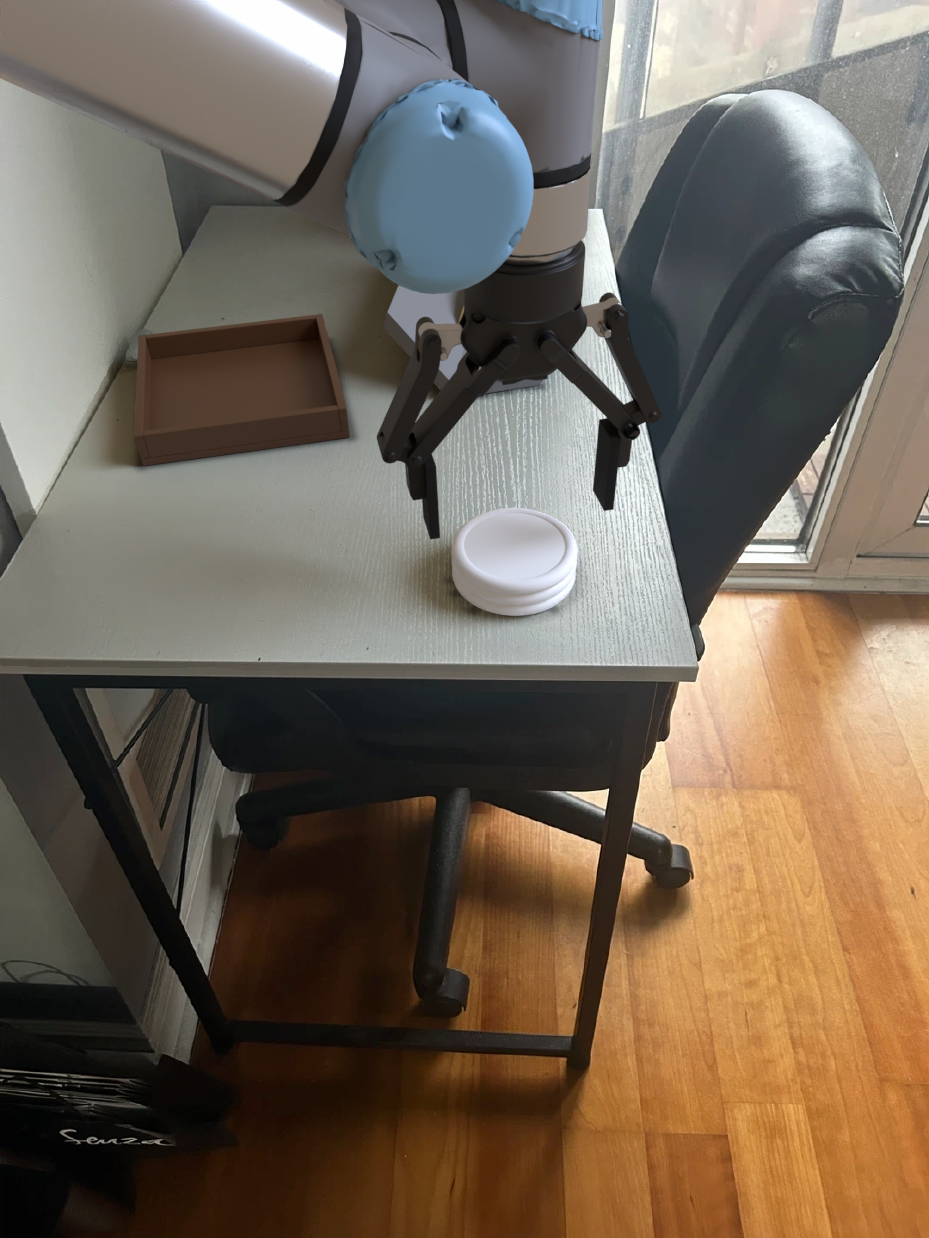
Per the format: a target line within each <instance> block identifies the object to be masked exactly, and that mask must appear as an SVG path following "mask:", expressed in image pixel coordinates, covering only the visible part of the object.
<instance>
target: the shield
mask: <svg viewBox="0 0 929 1238" xmlns="http://www.w3.org/2000/svg"><path fill="white" fill-rule="evenodd" d="M393 295H394V296H393V298H392V300H391V303H390V305H389V308H388V309H387V311H386V314H385V315H386V316H385V319H384V323H383V326H382V327H383V329H384V330H385V331H386V332H387V334H389V336H391V337H392V338H393V340H394V341H395V342H396V343H397V344H398V345H399V346H400V348H402V350H403V351H404V352H405V353H406V354H407V355H408V356H409V358H411V357H412V354H413V352H414V350H415V334H416V324H417V321H418V320H419V319H420V318H422V317H429V318H431V319H432V320H433V322H434V324H458V323H459V321H460V319H461V317H462V315H463V312H464V289H462V290H459V291H456V292H451V293H443V294H427V293H420V292H416V291H412V290H409V289H407V288H404V287H402V286H399V285H397V288H396V291H395V293H394V294H393ZM466 352H467V351H466V350H465V349H464V348H463V346H462V344H459V345H456V346H454V347H453V348H452V349H451V351H450V354H449V356H448V358H447V360H445V361H441V360H440V366H439V370H438V374H437V376H436V379H435V381H434V383H433V385H435V386H436V387H437V388H438V390H439V391H441V390H442V388H443V387H444V386H445V384H446V383H447V382H448V381H449V379H450V378H451V377H452V376H453V374H454V373H455V372H456V370H457V366H458V363H459V361H460V360H461V358H462V357H463V356H464V355H465V353H466ZM480 369H481V367H479V370H480ZM542 382H543V380H537V381H536V380H522V381H520V382H517V383H515V384H509V385H503V384H502V382H498V381H496V382H495V383H494V384H493V385H492V387H491V388H490V389H489V390H488V391H487V393H486V394H493V393H498V392H504V391H509V390H516V389H523V388H531V387H535V386H537V387H538V386H541V384H542Z"/></svg>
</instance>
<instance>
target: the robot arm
mask: <svg viewBox="0 0 929 1238" xmlns="http://www.w3.org/2000/svg"><path fill="white" fill-rule="evenodd" d="M602 27H603V0H0V79H1V80H3V81H5V82H7V83H9V84H11V85H15V86H16V87H18V88H21V89H22V90H25V91H28V92H29V93H32V94H34V95H37V96H38V97H41V98H43V99H45V100H47V101H50V102H52V103H54V104H57V105H59V106H61V107H63V108H66V109H68V110H70V111H72V112H73V113H77V114H79V115H81V116H83V117H85V118H88V119H89V120H92V121H94V122H97V123H98V124H101V125H103V126H105V127H108V128H110V129H112V130H115V131H116V132H119V133H121V134H124V135H126V136H127V137H130V138H132V139H135V140H137V141H140V142H141V143H143V144H146V145H148V146H150V147H153V148H155V149H157V150H159V151H161V152H163V153H166V154H168V155H170V156H172V157H174V158H177V159H179V160H181V161H183V162H186V163H188V164H190V165H192V166H194V167H197V168H199V169H202V170H204V171H206V172H208V173H210V174H213V175H215V176H217V177H219V178H221V179H223V180H226V181H228V182H231V183H233V184H234V185H238V186H239V187H241V188H244V189H246V190H249V191H250V192H253V193H255V194H258V195H259V196H262V197H264V198H266V199H269V200H271V201H273V202H275V203H277V204H279V205H282V206H284V207H285V208H287V209H289V210H291V211H292V212H295V213H297V214H299V215H301V216H303V217H306V218H308V219H310V220H312V221H315V222H317V223H318V224H321V225H323V226H325V227H327V228H330V229H332V230H334V231H336V232H339V233H341V234H343V235H345V236H347V237H349V238H350V239H351V241H352V243H353V245H354V247H355V249H356V250H357V251H358V252H359V254H360V255H361V256H362V257H363V258H365V259H366V260H367V261H368V262H369V264H370V265H372V266H373V267H375V268H377V269H378V270H379V271H380V272H381V273H382V274H383V276H385V277H386V279H388V280H390V281H391V282H392V283H395V284H396V285H397V286H402V287H404V288H407V289H409V290H412V291H416V292H420V293H427V294H443V293H451V292H456V291H459V290H462V289H464V312H463V315H462V317H461V319H460V321H459V323H458V324H434V322H433V320H432V319H431V318H429V317H422V318H420V319H419V320H418V321H417V324H416V334H415V350H414V352H413V354H412V357H410V358H409V362H408V364H407V366H406V368H405V370H404V372H403V375H402V376H401V379H400V382H399V384H398V387H397V388H396V391H395V393H394V395H393V397H392V400H391V402H390V404H389V407H388V409H387V411H386V413H385V416H384V418H383V421H382V423H381V424H380V428H379V429H378V431H377V434H376V441H377V445H378V449H379V452H380V455H381V458H382V461H383V462H384V463H386V464H389V465H390V464H391V465H392V464H395V463H396V462H401V463H403V464H404V468H405V469H404V470H405V479H406V480H405V481H406V487H407V489H408V493H409V496H410V498H411V499H412V501H420V500H421V504H422V517H423V521H424V525H425V527H426V531H427V534H428V536H429V540H436V539H440V538H441V529H440V510H439V509H440V508H439V493H438V473H437V464H436V462H435V459H434V456H433V453H434V452H435V450H436V449H437V448H438V447H439V445H441V443H442V442H443V441H444V440H445V439H446V437H447V436H448V435H449V433H450V432H451V431H452V429H453V428H455V426H456V424H457V423H458V422H459V421H460V420H461V419H462V418H463V416H464V415H465V414H466V413H467V411H468V410H469V409H470V408H471V406H472V405H473V404H474V403H475V401H476V400H477V399H478V398H482V397H484V396H485V395H486V394H488V393H487V391H488V390H489V389H490V388H491V387H492V385H493V384H494V383H495V382H496V381H498V382H502V384H503V385H509V384H515V383H517V382H520V381H522V380H536V381H537V380H542V381H543V380H548V376H550V375H552V374H553V373H555V371H557V370H558V371H559V372H560V373H561V374H562V375H563V376H564V377H565V378H566V379H567V380H568V381H569V382H570V383H571V384H573V385H574V386H575V387H576V388H577V389H578V390H579V391H580V392H581V393H582V394H583V395H584V397H586V398H587V399H588V400H589V401H590V402H591V403H592V404H593V405H594V407H596V408H597V410H599V411H600V412H601V413H602V414H603V415H604V416H605V417H604V418H599V419H598V430H597V439H596V451H595V461H594V462H595V463H594V474H593V483H592V484H593V486H592V491H593V493H594V495H595V497H596V499H597V501H598V503H599V505H600V506H601V508H602V510H603V511H604V512H606V511H612V510H614V508H615V506H614V505H615V498H616V488H617V479H618V472H619V468H626V467H627V466H628V464H629V462H630V460H631V453H632V452H631V451H632V445H633V444H632V443H633V441H635V440H636V439H638V438H639V436H640V435H641V429H640V427H639V426H641V425H643V424H645V423H647V424H654V423H657V422H658V421H659V420H660V419H661V418H662V411H661V408H660V407H659V404H658V402H657V399H656V397H655V395H654V393H653V390H652V388H651V387H650V384H649V382H648V379H647V377H646V374H645V372H644V370H643V368H642V365H641V363H640V360H639V359H638V356H637V354H636V352H635V350H634V347H633V345H632V343H631V339H630V334H629V331H630V330H629V328H630V326H629V325H630V323H629V312H628V310H627V309H626V308H625V307H624V305H623V304H622V302H621V301H620V300H619V298H618V297H617V296H616V295H615V294H614V293H613V292H605V293H603V294H602V295H601V296H600V298H599V301H598V302H596V303H593V304H588V305H584V306H583V304H582V299H583V292H584V278H585V277H584V276H585V264H586V244H585V243H584V241H583V239H585V238H586V236H587V232H588V223H589V201H590V186H591V185H590V183H591V164H592V163H591V162H592V144H593V133H594V132H593V129H594V119H595V118H594V115H595V104H596V93H597V92H596V90H597V78H598V68H599V56H600V47H601V46H600V44H601V41H602V40H603V37H604V30H603V28H602ZM588 327H590V328H592V330H593V331H594V332H595V334H596V335H597V337H599V338H603V339H604V341H605V343H606V345H607V347H608V350H609V352H610V354H611V356H612V358H613V360H614V362H615V364H616V367H617V369H618V371H619V373H620V376H621V379H623V382H624V384H625V386H626V388H627V390H628V393H629V395H630V397H631V399H632V400H630V401H628V402H626V403H623V402H622V401H621V400H620V399H619V398H618V397H617V396H616V394H615V393H613V391H612V390H611V389H610V388H609V387H608V386H607V385H606V383H604V382H603V381H602V379H600V377H598V376H597V374H596V373H595V372H594V371H593V370H592V369H591V368H590V367H589V366H588V365H587V364H586V363H585V361H584V360H583V359H582V358H581V357H580V356H578V354H577V353H576V352H575V350H574V347H575V346H576V344H578V342H579V340H580V339H581V338H582V337H583V335H584V334H585V332H586V330H587V328H588ZM459 344H462V346H463V348H464V349H465V350H466V351H467V352H466V353H465V355H464V356H463V357H462V358H461V360H460V361H459V363H458V366H457V370H456V372H455V373H454V374H453V376H452V377H451V378H450V379H449V381H448V382H447V383H446V384H445V386H444V387H443V388H442V390H439V392H438V393H437V395H436V396H435V397H434V398H433V400H432V401H431V402H430V404H429V405H428V406H427V408H425V410H424V411H423V412H422V414H421V415H420V413H421V411H422V409H423V407H424V405H425V403H426V400H427V398H428V396H429V395H430V392H431V389H432V388H433V385H434V381H435V379H436V376H437V374H438V370H439V366H440V360H441V361H445V360H447V358H448V356H449V354H450V351H451V349H452V348H453V347H454V346H456V345H459ZM479 367H481V369H480V370H479ZM419 415H420V416H419ZM418 417H419V418H418Z"/></svg>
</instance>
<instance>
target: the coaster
mask: <svg viewBox="0 0 929 1238" xmlns="http://www.w3.org/2000/svg"><path fill="white" fill-rule="evenodd" d="M450 550H451V551H450V552H451V568H452V569H451V575H452V580H453V583H454V585H455V587H456V590H457V592H458V593H459V594H460V595H461V597H462V598H464V599H465V600H466V601H467V602H469V604H471V605H473V606H475V607H476V608H478V609H481V610H483V611H486V612H488V613H492V614H495V615H496V614H497V615H501V616H512V617H521V616H529V615H534V614H535V615H536V614H538V613H543V612H545V611H547V610H550V609H552V608H554V607H556V606H557V605H558V604H560V603H561V602H562V601H564V599H566V598H567V596H569V594H570V592H571V591H572V589H573V587H574V584H575V581H576V578H577V576H576V575H577V565H578V555H579V552H578V550H579V548H578V544H577V541H576V538H575V536H574V534H573V533H572V531H571V530H570V529H569V527H568V526H566V524H564V523H563V521H560V520H559V519H557V518H556V517H553V516H551V515H549V514H548V513H544V512H542V511H539V510H535V509H531V508H523V507H502V508H496V509H492V510H488V511H486V512H483V513H480V514H478V515H476V516H474V517H473V518H470V519H469V520H467V521H466V522H465V523H464V524H463V525H462V526H460V528H458V530H457V532H456V534H455V535H454V538H453V541H452V544H451V549H450Z"/></svg>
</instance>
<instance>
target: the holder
mask: <svg viewBox="0 0 929 1238" xmlns="http://www.w3.org/2000/svg"><path fill="white" fill-rule="evenodd" d="M333 353H334V352H333V350H332V346H331V342H330V338H329V334H328V330H327V326H326V322H325V317H324V315H323V313H319V314H318V313H317V314H310V315H301V316H292V317H284V318H277V319H268V320H267V319H266V320H259V321H251V322H243V323H234V324H226V325H225V324H224V325H217V326H209V327H201V328H192V329H183V330H174V331H167V332H158V333H150V334H149V333H148V334H141V335H140V334H139V335H138V336H137V358H136V381H135V383H136V384H135V406H134V407H135V408H134V409H135V410H134V411H135V412H134V434H133V437H134V441H135V444H136V448H137V450H138V454H139V457H140V461H141V463H142V466H144V467H147V466H152V465H153V466H154V465H160V464H167V463H174V462H181V461H189V460H195V459H204V458H211V457H217V456H225V455H232V454H240V453H246V452H248V453H249V452H253V451H261V450H268V449H275V448H282V447H283V448H284V447H289V446H297V445H298V446H299V445H304V444H312V443H320V442H326V441H334V440H340V439H348V438H350V437H351V433H350V424H349V416H348V408H347V405H346V404H347V403H346V401H345V396H344V393H343V389H342V385H341V381H340V377H339V374H338V373H339V372H338V370H337V365H336V361H335V358H334V354H333Z"/></svg>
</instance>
